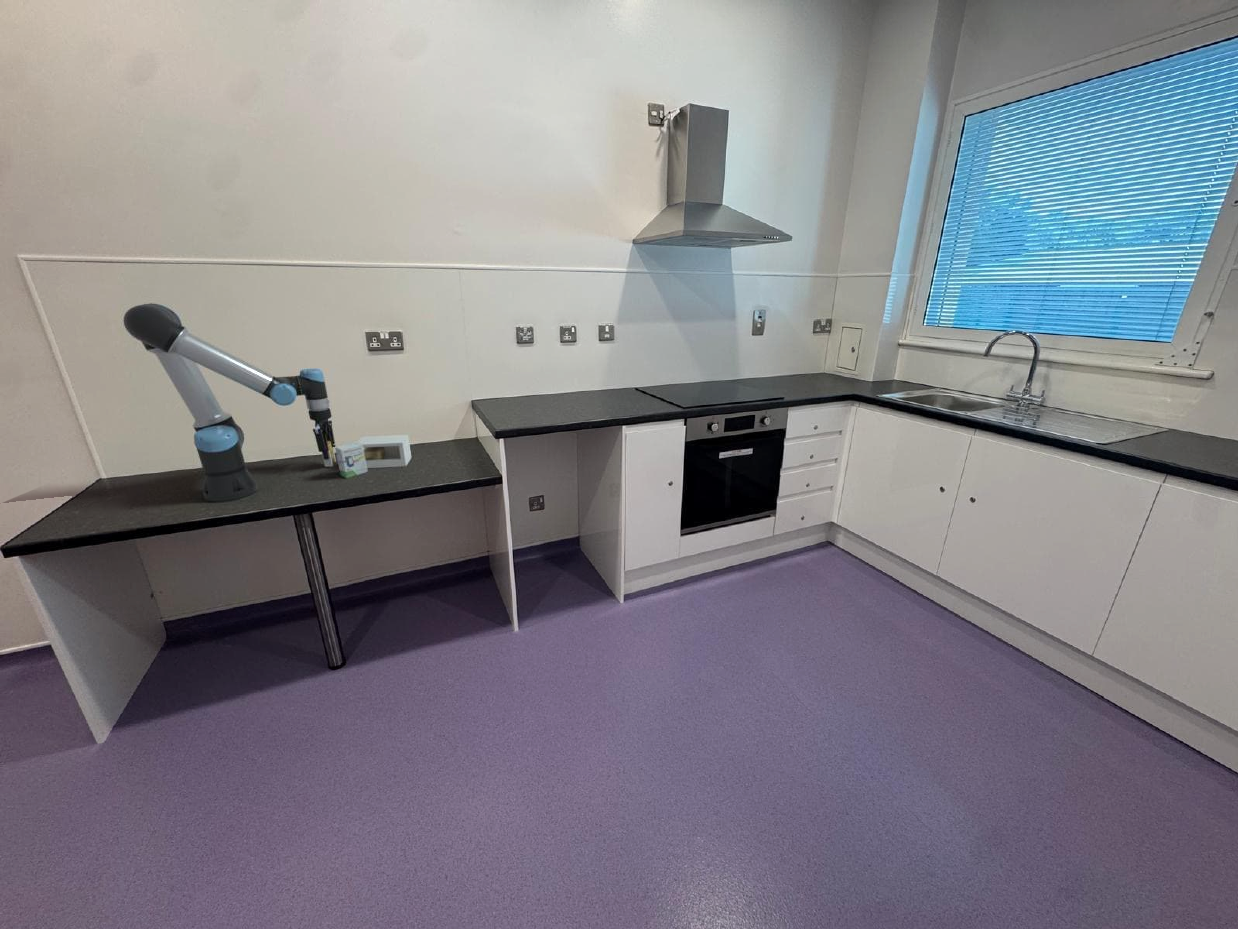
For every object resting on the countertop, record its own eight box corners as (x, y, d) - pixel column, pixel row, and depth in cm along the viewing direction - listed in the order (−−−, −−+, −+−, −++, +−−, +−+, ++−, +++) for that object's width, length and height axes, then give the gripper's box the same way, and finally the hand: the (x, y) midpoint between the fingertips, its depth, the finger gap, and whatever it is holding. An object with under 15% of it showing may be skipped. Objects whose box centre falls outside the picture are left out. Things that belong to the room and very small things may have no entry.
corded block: (323, 468, 199) (318, 444, 195) (329, 463, 204) (324, 440, 201) (382, 465, 203) (378, 441, 199) (385, 460, 208) (382, 437, 205)
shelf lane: (357, 468, 199) (353, 444, 195) (365, 459, 209) (361, 436, 206) (405, 466, 202) (402, 442, 199) (411, 457, 212) (408, 434, 209)
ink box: (361, 469, 198) (356, 441, 194) (368, 472, 196) (363, 444, 191) (339, 475, 192) (334, 446, 188) (346, 478, 189) (340, 449, 185)
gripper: (321, 413, 187) (333, 471, 195) (336, 403, 202) (347, 457, 210) (299, 414, 185) (312, 472, 194) (316, 404, 200) (328, 458, 209)
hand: (330, 464), depth 202 cm, fingers closed on corded block, 3 cm apart
